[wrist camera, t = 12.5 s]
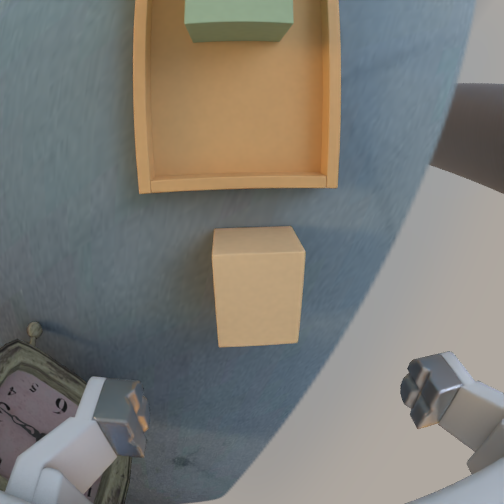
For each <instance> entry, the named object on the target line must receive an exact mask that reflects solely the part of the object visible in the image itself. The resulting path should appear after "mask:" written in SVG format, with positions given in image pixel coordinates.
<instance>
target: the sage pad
mask: <svg viewBox="0 0 504 504" xmlns="http://www.w3.org/2000/svg"><path fill="white" fill-rule="evenodd" d="M293 23H294V21H293V0H185V12H184V24H185V26H186V28H187V31H188V33H189V35H190V37H191V39H192V41H193V43H197V42H217V41H271V42H280V40H281V39H282V38H283V36H284V35H285V34H286V33H287V31H288V30H289V29H290V27H291V26H292V25H293Z"/></svg>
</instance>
